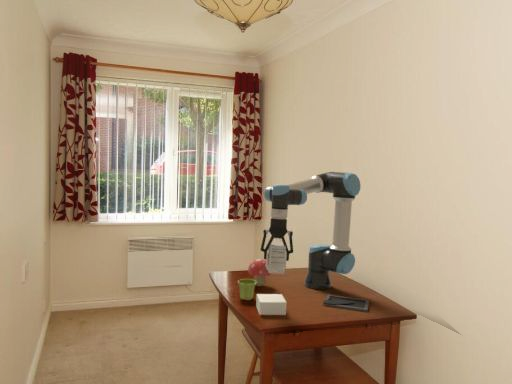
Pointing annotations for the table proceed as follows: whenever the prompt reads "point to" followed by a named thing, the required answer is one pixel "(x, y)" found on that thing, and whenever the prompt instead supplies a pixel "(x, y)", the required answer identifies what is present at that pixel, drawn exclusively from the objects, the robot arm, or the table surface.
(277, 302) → the plinth
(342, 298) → the picture frame
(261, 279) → the decorative mushroom
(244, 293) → the plant pot
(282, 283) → the table surface
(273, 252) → the supplement box
